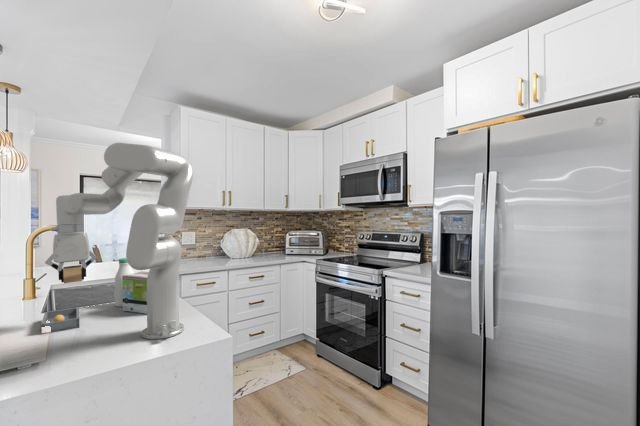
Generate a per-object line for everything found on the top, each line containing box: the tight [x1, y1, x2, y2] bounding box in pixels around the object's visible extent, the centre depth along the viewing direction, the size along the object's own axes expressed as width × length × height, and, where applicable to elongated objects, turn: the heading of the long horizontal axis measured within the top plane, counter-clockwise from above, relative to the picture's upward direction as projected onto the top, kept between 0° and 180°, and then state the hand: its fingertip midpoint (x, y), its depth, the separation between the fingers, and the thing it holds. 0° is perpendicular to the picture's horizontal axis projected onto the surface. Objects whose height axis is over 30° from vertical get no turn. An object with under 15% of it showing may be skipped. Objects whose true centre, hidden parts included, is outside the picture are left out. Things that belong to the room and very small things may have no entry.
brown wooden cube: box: [62, 264, 83, 284], centre depth 113 cm, size 5×5×5 cm
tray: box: [40, 306, 80, 334], centre depth 113 cm, size 17×10×3 cm, turn 38°
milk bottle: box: [114, 257, 135, 308], centre depth 137 cm, size 8×8×20 cm
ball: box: [54, 315, 65, 322], centre depth 111 cm, size 3×3×3 cm
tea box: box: [122, 270, 149, 315], centre depth 130 cm, size 15×10×15 cm, turn 73°
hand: (72, 279), depth 113 cm, fingers closed on brown wooden cube, 5 cm apart
